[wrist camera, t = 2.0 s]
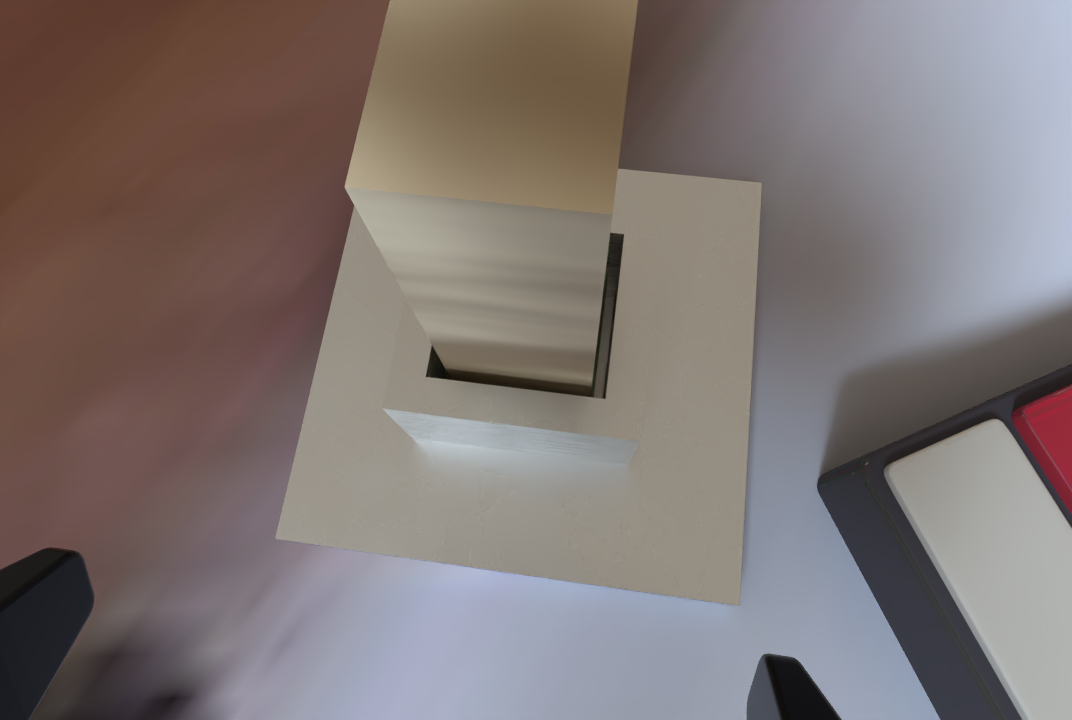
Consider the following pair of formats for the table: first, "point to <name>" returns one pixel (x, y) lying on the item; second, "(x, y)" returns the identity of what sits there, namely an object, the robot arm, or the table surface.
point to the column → (498, 178)
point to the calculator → (974, 551)
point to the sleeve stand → (552, 417)
